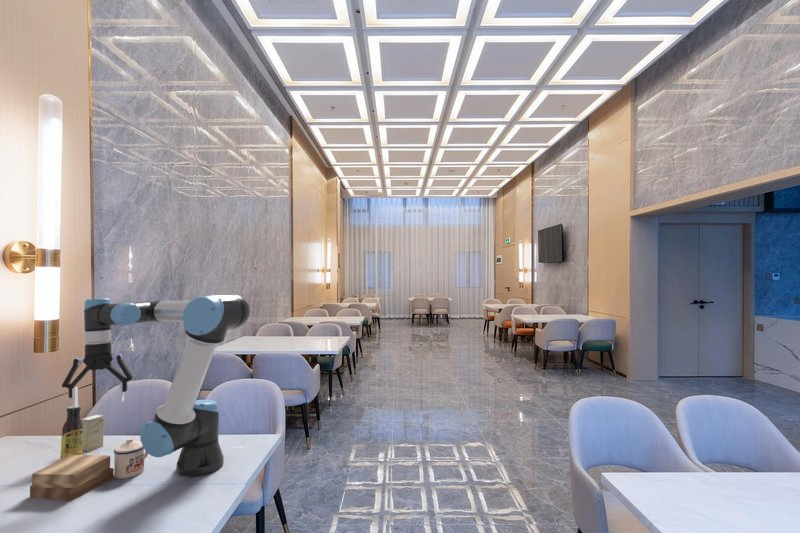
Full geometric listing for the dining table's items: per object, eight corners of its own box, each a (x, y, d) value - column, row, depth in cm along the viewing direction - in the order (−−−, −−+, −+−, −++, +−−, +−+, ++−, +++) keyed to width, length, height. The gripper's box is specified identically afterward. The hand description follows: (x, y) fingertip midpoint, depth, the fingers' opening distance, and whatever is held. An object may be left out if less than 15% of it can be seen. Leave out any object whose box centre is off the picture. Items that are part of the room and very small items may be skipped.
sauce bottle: (64, 467, 150) (65, 410, 150) (57, 463, 153) (58, 408, 154) (85, 460, 155) (86, 405, 156) (78, 456, 159) (79, 403, 159)
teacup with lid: (127, 481, 139) (127, 445, 139) (106, 477, 141) (107, 442, 142) (158, 465, 150) (158, 432, 151) (138, 462, 153) (138, 430, 153)
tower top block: (110, 467, 141) (110, 455, 142) (75, 488, 127) (75, 474, 128) (70, 466, 142) (70, 454, 142) (31, 487, 128) (32, 473, 128)
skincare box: (87, 451, 163) (88, 420, 163) (79, 450, 165) (80, 419, 165) (103, 445, 169) (104, 415, 169) (96, 444, 170) (96, 414, 171)
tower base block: (113, 480, 141) (113, 468, 141) (70, 503, 126) (70, 490, 126) (76, 476, 144) (76, 464, 144) (29, 499, 129) (30, 486, 129)
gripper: (141, 338, 155) (142, 396, 154) (58, 344, 146) (59, 406, 145) (137, 340, 148) (138, 401, 147) (49, 347, 139) (50, 412, 138)
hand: (99, 404), depth 146 cm, fingers open, 13 cm apart
